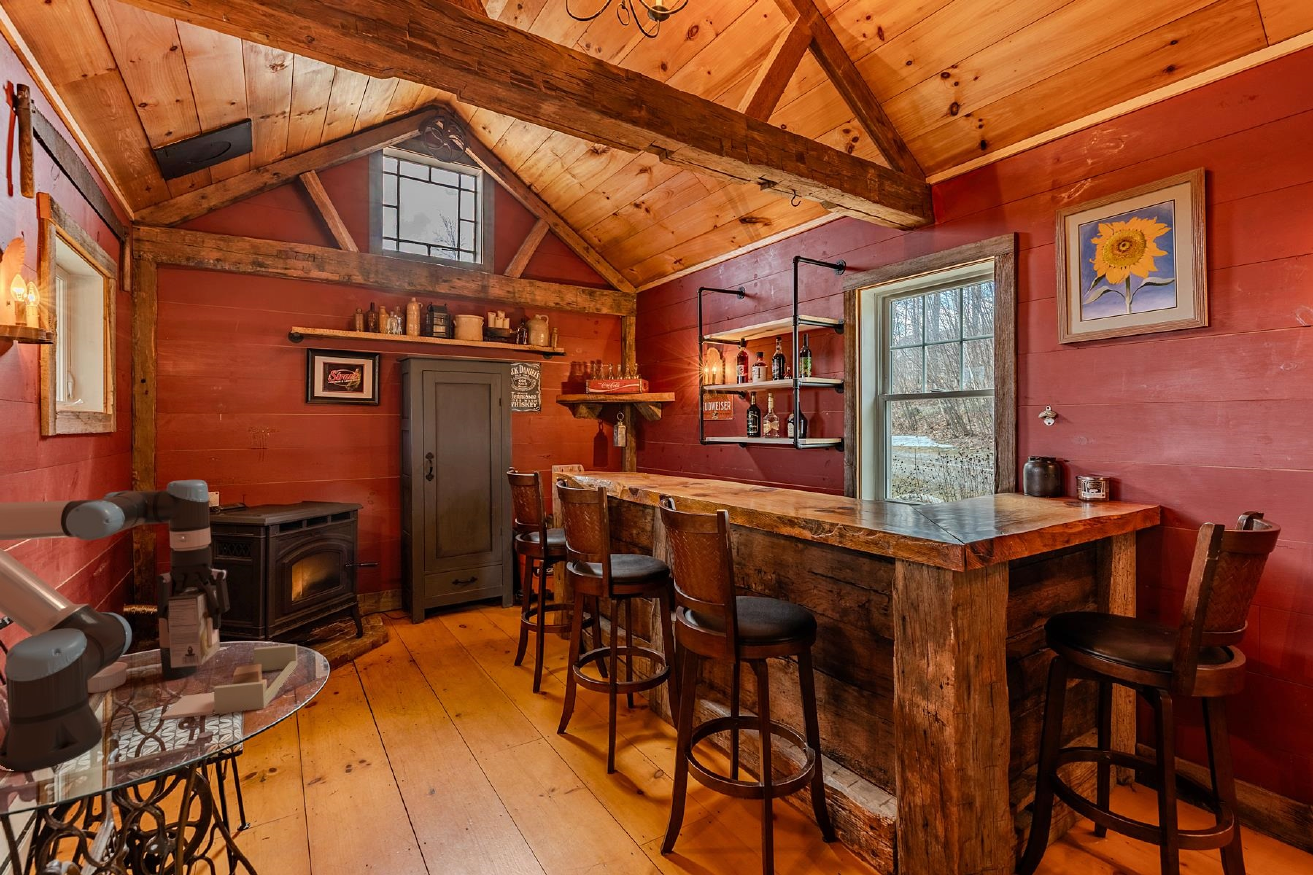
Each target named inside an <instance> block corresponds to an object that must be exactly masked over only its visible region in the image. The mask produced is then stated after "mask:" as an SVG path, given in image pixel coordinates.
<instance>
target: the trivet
mask: <svg viewBox="0 0 1313 875" xmlns="http://www.w3.org/2000/svg"><path fill="white" fill-rule="evenodd" d="M213 714H215V706H214V692H209V693H207V692H206V693H200V694H199V693H198V694H188V695H187V694H186V695H183V696H182V697H180V699H179V700H178V701H176V702H175V703H174V704H173V705H172V706H171V707H170V708H169V709H167V711H166V712H164V713H163V714H162V715H161V718H160V720H171V719H181V718H188V717H189V718H190V717H198V716H209V715H213Z"/></svg>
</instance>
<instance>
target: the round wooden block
mask: <svg viewBox="0 0 1313 875" xmlns="http://www.w3.org/2000/svg"><path fill="white" fill-rule="evenodd" d="M127 669H128V663H126V662H122V661H121V662H118V661H116V662H115V663H114V664H112V665H110V666H109V667H106V668H105V669H103V670H102V671H100V672H99V673H97V674H96V675H95V676H93V677H92V678H90V679H89V680H88V694H89V693H90V694H91V693H92V694H95V693H103V692H106V691H111V690H114V689H116V688H118V687H120V686H122V685H124V684H125V682H126V681H127Z"/></svg>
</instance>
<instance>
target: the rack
mask: <svg viewBox="0 0 1313 875" xmlns="http://www.w3.org/2000/svg"><path fill="white" fill-rule="evenodd" d="M298 663H299V661H298V644H297V643H295V644H286V645H274V646H263V647H254V649H253V665H256V664H261V666H262V672H266V671H267V672H268V671H275V670H276V671H278V670H277V669H279V670H282V671H281V673H280V674H279V675H278V676H277V677H276V679H274V681H273V682H272V683H271V684H270V685H269V687H267V690H266V692H265V681H263V682H252V683H242V684H224V685H223V684H222V685H215V687H213V693H214V706H215V712H214V714H215V715H217V714H218V715H219V714H227V712H228V713H235V712H244V711H245V712H246V710H247V711H254V710H263V709H265V708H266V707H267V705H268V704H269V703H270V701H272V699H273V698H274V697H275V695H276V694H277V693H278V691H279V690H280V689H281V688H282V687H283V685H284V684H285V683H286V681H287V680H288V679H289V678H290V676H291V675H292V674H293V673H294V671H295V670H296V669H297V668H296V666H297V665H298V666H299V664H298ZM298 666H297V667H298ZM295 668H296V669H295ZM294 669H295V670H294ZM293 670H294V671H293ZM292 672H293V673H292ZM291 673H292V674H291ZM290 674H291V675H290ZM289 675H290V676H289ZM288 677H289V678H288ZM287 678H288V679H287ZM286 679H287V680H286ZM285 680H286V681H285ZM284 682H285V683H284ZM283 683H284V684H283ZM280 687H281V688H280ZM279 688H280V689H279ZM243 710H244V711H243Z"/></svg>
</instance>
